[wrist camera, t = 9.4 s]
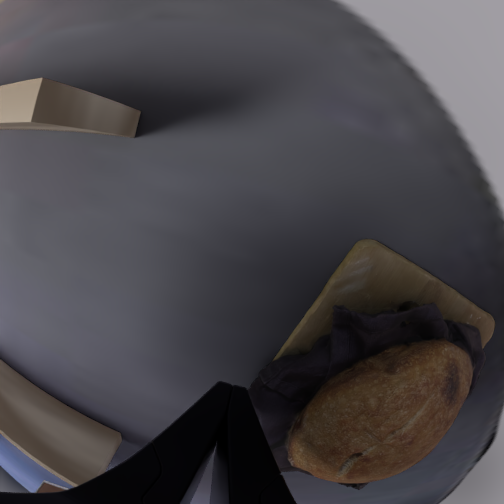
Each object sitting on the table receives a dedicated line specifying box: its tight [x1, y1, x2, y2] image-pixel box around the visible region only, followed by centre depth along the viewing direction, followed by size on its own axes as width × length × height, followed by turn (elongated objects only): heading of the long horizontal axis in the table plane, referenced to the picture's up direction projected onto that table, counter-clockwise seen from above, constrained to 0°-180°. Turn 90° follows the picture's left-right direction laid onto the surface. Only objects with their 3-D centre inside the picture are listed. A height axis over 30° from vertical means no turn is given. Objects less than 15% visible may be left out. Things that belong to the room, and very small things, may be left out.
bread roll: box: [248, 239, 495, 490], centre depth 8 cm, size 11×8×4 cm
